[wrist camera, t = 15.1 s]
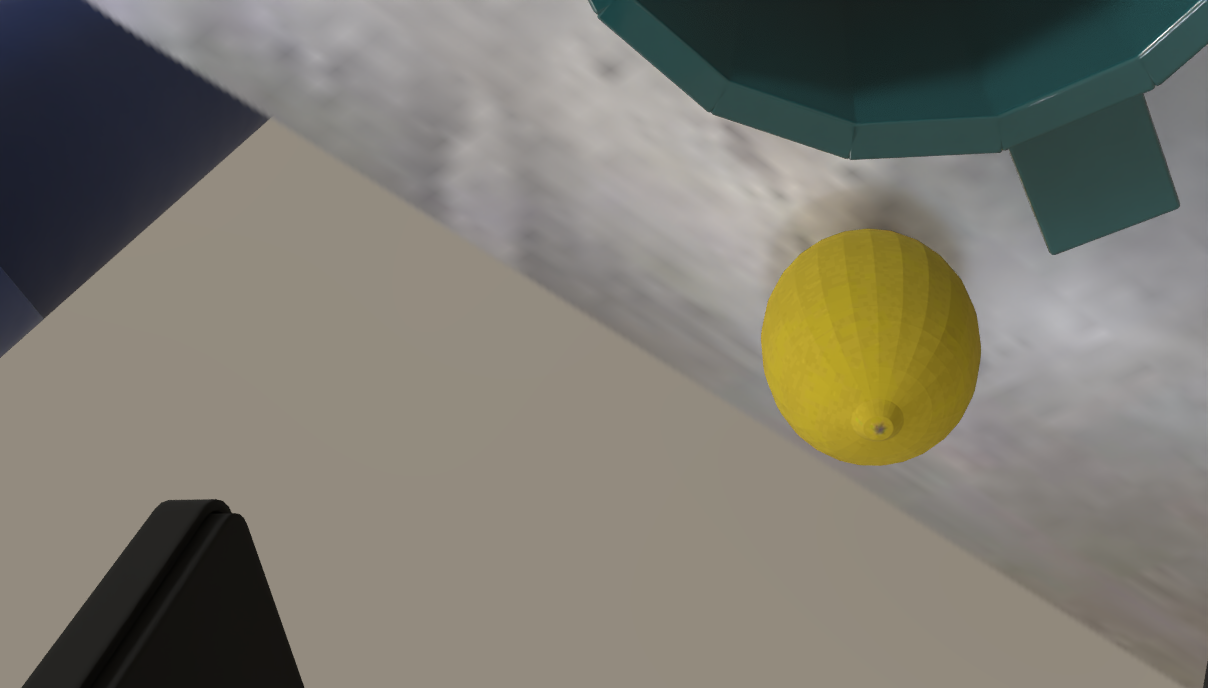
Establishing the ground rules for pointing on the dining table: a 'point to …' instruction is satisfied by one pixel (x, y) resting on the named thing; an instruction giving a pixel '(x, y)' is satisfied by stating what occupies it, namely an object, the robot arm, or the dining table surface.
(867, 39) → the pot
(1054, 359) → the dining table surface
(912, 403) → the lemon
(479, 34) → the dining table surface
